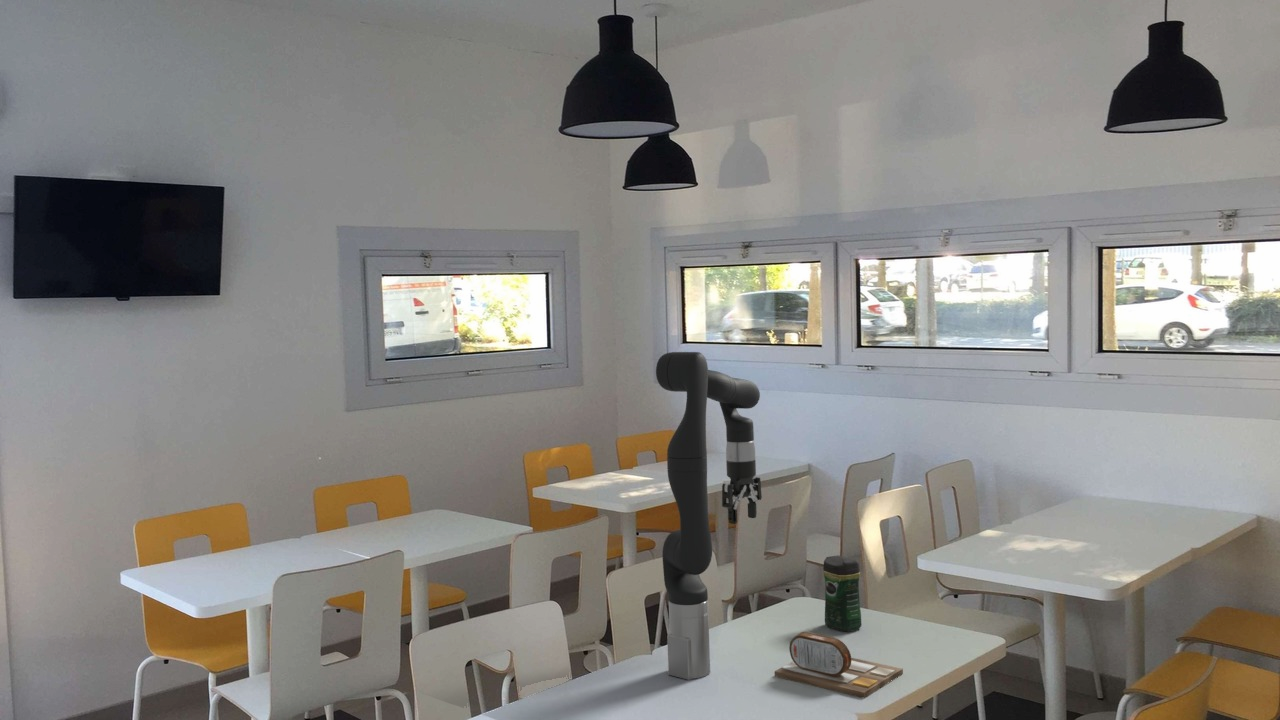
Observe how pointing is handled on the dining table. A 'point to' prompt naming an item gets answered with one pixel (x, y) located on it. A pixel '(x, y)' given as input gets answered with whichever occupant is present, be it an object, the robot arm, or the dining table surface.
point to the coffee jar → (842, 593)
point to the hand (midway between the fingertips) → (742, 520)
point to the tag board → (845, 677)
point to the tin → (820, 654)
